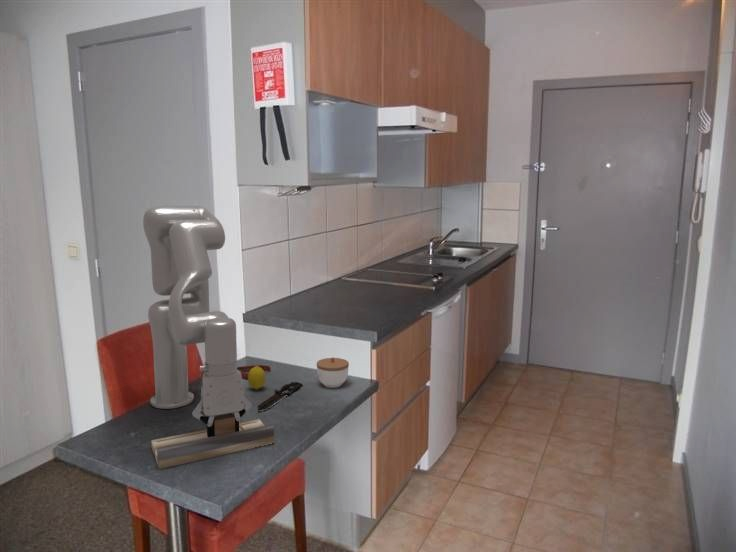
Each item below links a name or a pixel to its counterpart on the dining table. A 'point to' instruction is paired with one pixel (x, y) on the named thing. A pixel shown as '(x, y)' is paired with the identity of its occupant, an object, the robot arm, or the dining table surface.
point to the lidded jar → (332, 371)
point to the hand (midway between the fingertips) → (223, 436)
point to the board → (209, 453)
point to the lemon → (256, 377)
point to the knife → (277, 395)
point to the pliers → (248, 368)
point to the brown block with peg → (224, 424)
